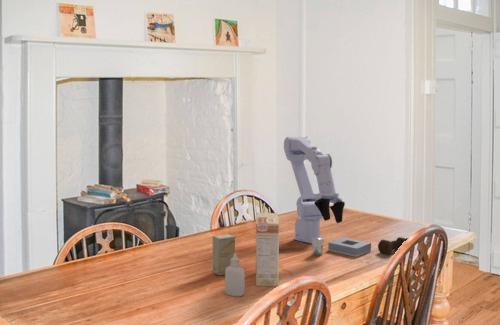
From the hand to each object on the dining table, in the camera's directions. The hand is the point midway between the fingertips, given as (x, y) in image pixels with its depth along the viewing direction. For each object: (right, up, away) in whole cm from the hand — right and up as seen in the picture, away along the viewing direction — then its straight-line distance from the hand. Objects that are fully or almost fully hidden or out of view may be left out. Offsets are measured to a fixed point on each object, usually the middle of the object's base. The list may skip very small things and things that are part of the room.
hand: (333, 221), depth 204 cm
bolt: (+24, -12, +8) cm, 28 cm away
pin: (-5, -12, +2) cm, 14 cm away
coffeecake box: (-24, -16, -24) cm, 37 cm away
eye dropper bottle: (-34, -18, -38) cm, 54 cm away
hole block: (+7, -12, +7) cm, 15 cm away
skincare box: (-38, -15, -18) cm, 45 cm away
